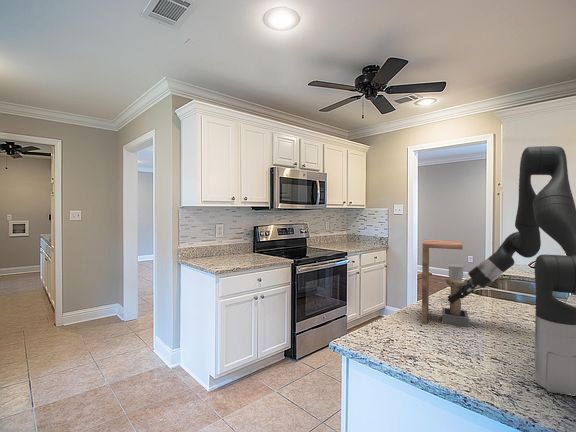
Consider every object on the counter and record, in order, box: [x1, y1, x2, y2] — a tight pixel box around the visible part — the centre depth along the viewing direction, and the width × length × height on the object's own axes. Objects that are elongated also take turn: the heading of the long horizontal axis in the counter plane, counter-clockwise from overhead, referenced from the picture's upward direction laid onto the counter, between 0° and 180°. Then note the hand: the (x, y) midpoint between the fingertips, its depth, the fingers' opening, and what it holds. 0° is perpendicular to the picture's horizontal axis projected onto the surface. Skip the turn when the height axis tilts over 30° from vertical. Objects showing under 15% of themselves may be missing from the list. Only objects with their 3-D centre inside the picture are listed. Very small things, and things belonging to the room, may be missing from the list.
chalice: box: [447, 264, 465, 281], centre depth 148 cm, size 7×7×18 cm
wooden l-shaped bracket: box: [421, 239, 463, 325], centre depth 126 cm, size 18×14×32 cm
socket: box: [441, 307, 470, 328], centre depth 124 cm, size 10×9×4 cm
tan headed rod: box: [446, 278, 465, 316], centre depth 124 cm, size 5×6×15 cm
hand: (449, 300), depth 125 cm, fingers closed on tan headed rod, 3 cm apart
